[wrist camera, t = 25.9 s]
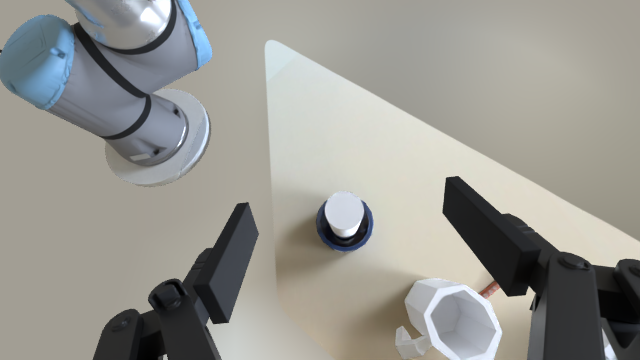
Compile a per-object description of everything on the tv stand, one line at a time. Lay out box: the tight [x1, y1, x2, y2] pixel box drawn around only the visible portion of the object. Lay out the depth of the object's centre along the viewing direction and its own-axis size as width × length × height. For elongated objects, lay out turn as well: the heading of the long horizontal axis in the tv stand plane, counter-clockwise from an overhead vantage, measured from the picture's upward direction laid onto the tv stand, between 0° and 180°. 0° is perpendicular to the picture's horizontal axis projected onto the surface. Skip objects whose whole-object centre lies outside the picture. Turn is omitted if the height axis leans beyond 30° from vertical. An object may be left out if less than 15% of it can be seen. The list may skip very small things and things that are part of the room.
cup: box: [316, 200, 374, 253], centre depth 39 cm, size 8×8×6 cm
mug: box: [395, 278, 503, 360], centre depth 32 cm, size 12×9×10 cm
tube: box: [325, 191, 364, 239], centre depth 34 cm, size 4×4×15 cm
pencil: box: [479, 281, 500, 299], centre depth 37 cm, size 19×1×1 cm, turn 125°
